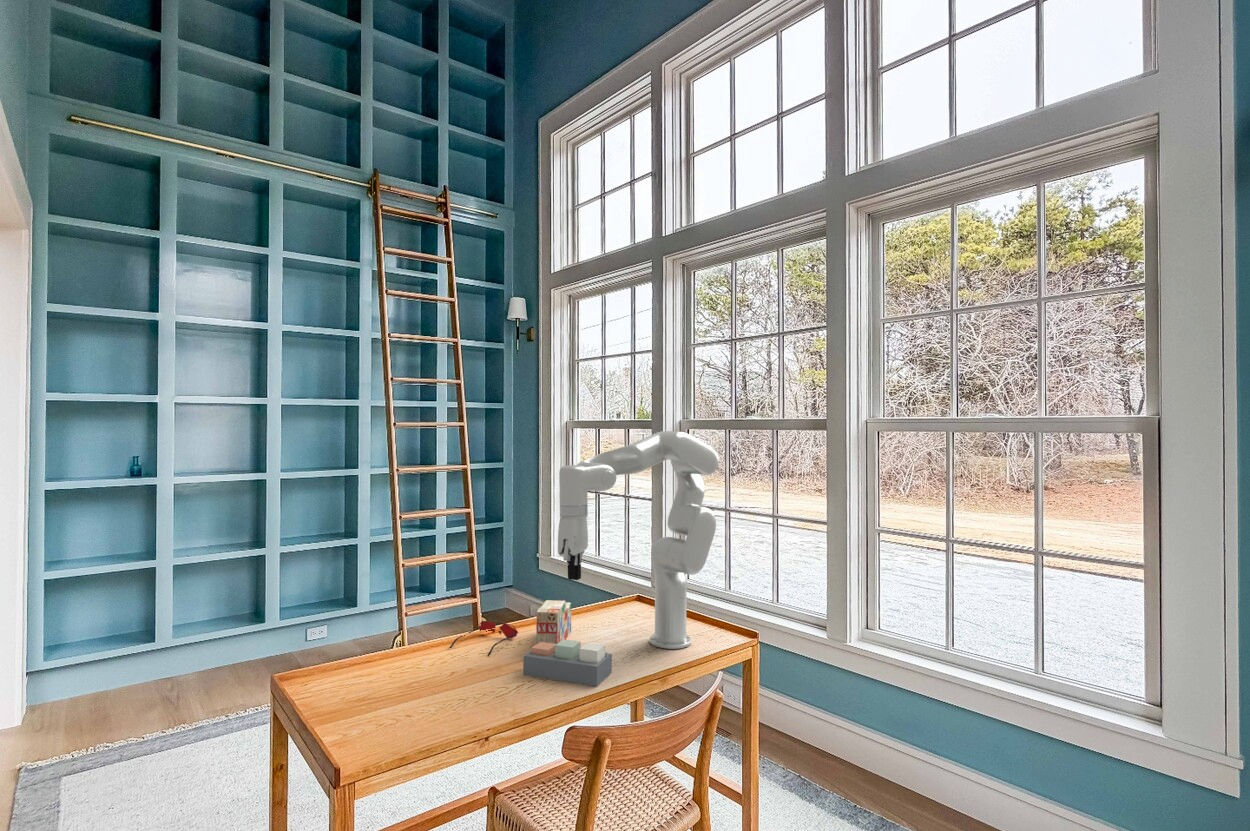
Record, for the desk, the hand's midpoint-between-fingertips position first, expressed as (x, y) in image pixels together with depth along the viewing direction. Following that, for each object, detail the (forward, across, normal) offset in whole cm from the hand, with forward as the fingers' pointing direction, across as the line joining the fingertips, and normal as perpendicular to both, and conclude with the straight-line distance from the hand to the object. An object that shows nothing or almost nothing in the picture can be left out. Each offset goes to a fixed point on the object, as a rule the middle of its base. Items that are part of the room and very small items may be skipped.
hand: (574, 578), depth 179 cm
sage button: (+21, +5, 0) cm, 21 cm away
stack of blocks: (+25, -17, -15) cm, 33 cm away
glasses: (+24, -7, -33) cm, 42 cm away
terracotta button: (+22, +5, -7) cm, 24 cm away
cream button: (+21, +5, +7) cm, 23 cm away
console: (+24, +5, 0) cm, 24 cm away
